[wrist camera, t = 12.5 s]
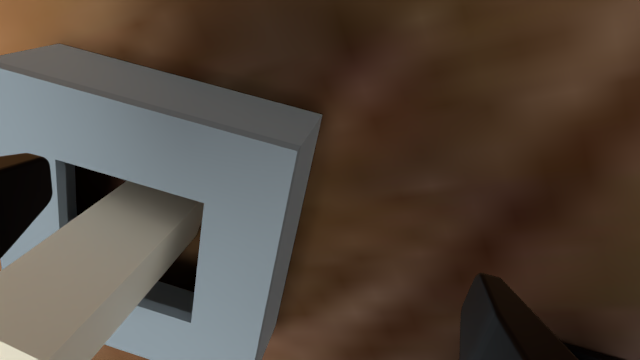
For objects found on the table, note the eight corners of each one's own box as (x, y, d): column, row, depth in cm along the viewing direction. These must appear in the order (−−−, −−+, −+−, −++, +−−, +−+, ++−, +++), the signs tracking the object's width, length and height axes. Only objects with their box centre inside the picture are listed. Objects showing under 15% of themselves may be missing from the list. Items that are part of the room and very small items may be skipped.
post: (212, 187, 25) (45, 363, 14) (196, 235, 27) (34, 426, 15) (155, 160, 25) (-59, 313, 14) (142, 209, 27) (-59, 381, 15)
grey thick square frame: (322, 114, 22) (297, 151, 17) (275, 325, 28) (248, 391, 24) (59, 43, 23) (-27, 60, 19) (70, 260, 29) (7, 312, 25)
